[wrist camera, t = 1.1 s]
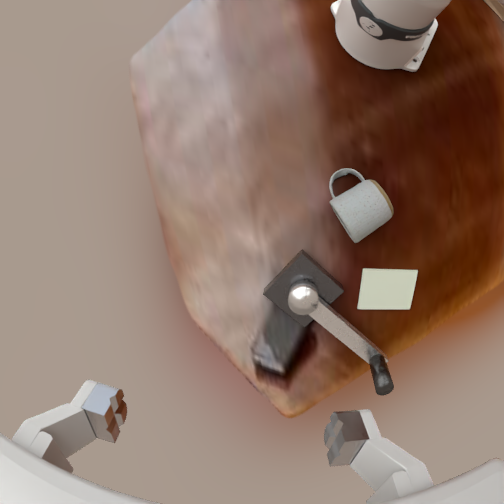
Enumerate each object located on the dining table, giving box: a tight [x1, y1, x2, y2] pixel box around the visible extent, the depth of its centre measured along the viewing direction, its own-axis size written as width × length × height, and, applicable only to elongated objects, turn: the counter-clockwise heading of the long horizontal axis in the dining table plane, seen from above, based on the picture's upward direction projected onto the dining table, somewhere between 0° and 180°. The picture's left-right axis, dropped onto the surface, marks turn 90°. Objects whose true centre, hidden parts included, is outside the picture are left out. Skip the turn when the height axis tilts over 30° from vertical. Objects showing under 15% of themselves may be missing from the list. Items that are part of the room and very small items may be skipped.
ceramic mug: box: [329, 168, 393, 243], centre depth 41 cm, size 11×8×8 cm
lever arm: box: [288, 280, 394, 395], centre depth 44 cm, size 24×5×10 cm, turn 51°
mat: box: [357, 268, 418, 309], centre depth 48 cm, size 11×8×1 cm
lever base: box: [263, 250, 344, 327], centre depth 49 cm, size 10×10×2 cm
